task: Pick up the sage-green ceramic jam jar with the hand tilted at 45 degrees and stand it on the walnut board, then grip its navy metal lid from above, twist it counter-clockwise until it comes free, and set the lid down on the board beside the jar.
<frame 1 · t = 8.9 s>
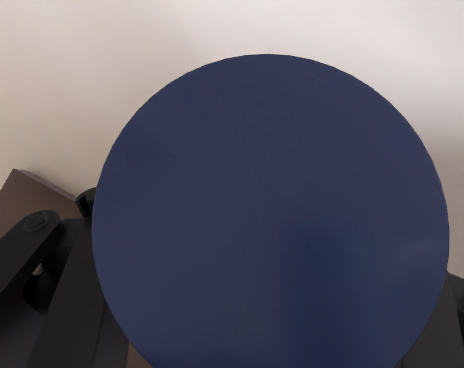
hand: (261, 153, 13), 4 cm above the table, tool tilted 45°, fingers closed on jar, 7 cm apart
board: (90, 330, 17), on the table
lid: (259, 217, 5), point 12 cm above the table, screwed on, not yet turned
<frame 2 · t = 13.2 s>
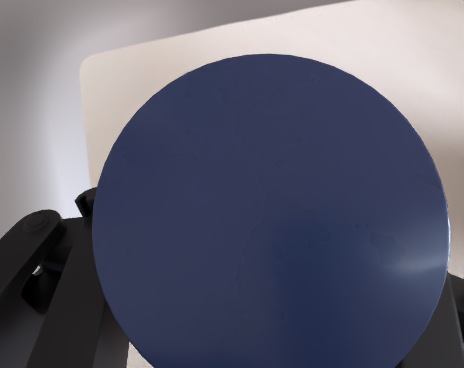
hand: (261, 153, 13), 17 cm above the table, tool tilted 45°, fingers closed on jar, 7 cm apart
lid: (259, 217, 5), point 24 cm above the table, screwed on, not yet turned
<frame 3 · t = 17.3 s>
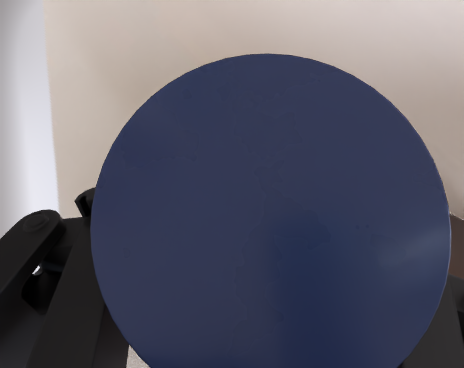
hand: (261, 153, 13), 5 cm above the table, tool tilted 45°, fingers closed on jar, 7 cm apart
board: (312, 272, 17), on the table
lid: (259, 217, 5), point 13 cm above the table, screwed on, not yet turned
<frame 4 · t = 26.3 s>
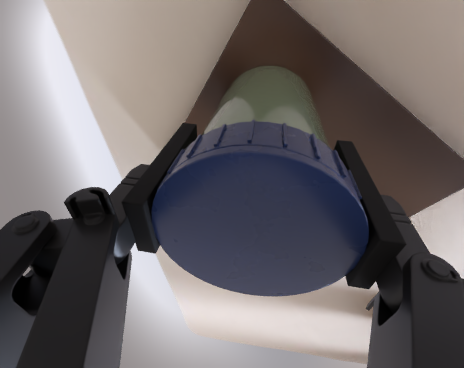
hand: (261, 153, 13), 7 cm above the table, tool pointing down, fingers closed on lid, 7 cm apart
board: (304, 163, 21), on the table
jar: (266, 115, 18), point 1 cm above the table, touching board
lid: (252, 235, 9), point 13 cm above the table, screwed on, not yet turned, touching gripper
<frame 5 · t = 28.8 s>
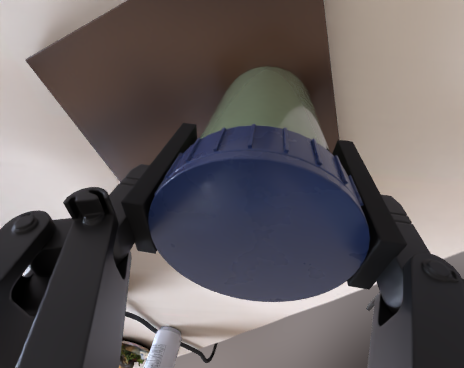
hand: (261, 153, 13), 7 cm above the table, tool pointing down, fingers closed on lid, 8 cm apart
board: (192, 108, 20), on the table
burger: (135, 343, 65), on the table
jar: (265, 115, 18), point 1 cm above the table, touching board
energy drink can: (171, 329, 54), on the table
lid: (251, 240, 9), point 13 cm above the table, off its thread, touching gripper
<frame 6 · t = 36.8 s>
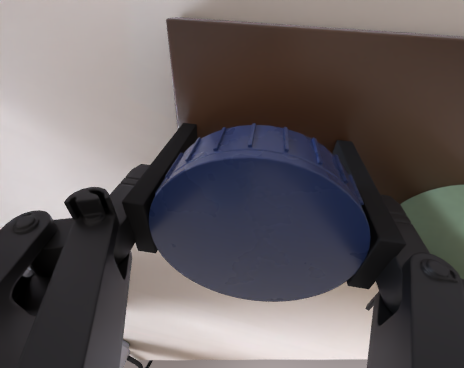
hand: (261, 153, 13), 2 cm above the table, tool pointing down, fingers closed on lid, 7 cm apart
board: (351, 179, 15), on the table
jar: (440, 227, 15), point 1 cm above the table, touching board
energy drink can: (118, 340, 47), on the table
lid: (252, 240, 9), point 8 cm above the table, off its thread, touching gripper
when the fingers open (3 cm above the table, at t = 45.7 s): lid drops 5 cm, resting on board.
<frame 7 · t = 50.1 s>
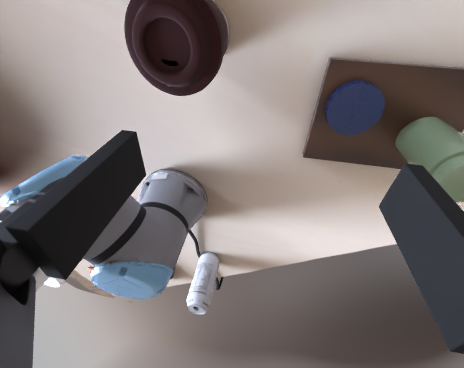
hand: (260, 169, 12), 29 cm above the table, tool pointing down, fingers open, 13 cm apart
board: (384, 119, 37), on the table
paper cup: (81, 239, 73), on the table
coffee cup: (205, 31, 33), on the table
jar: (420, 137, 37), point 1 cm above the table, touching board
energy drink can: (210, 256, 68), on the table
lid: (354, 110, 34), point 3 cm above the table, off its thread, touching board
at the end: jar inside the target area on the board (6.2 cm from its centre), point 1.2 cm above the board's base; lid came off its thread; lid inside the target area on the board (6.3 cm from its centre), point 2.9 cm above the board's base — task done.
